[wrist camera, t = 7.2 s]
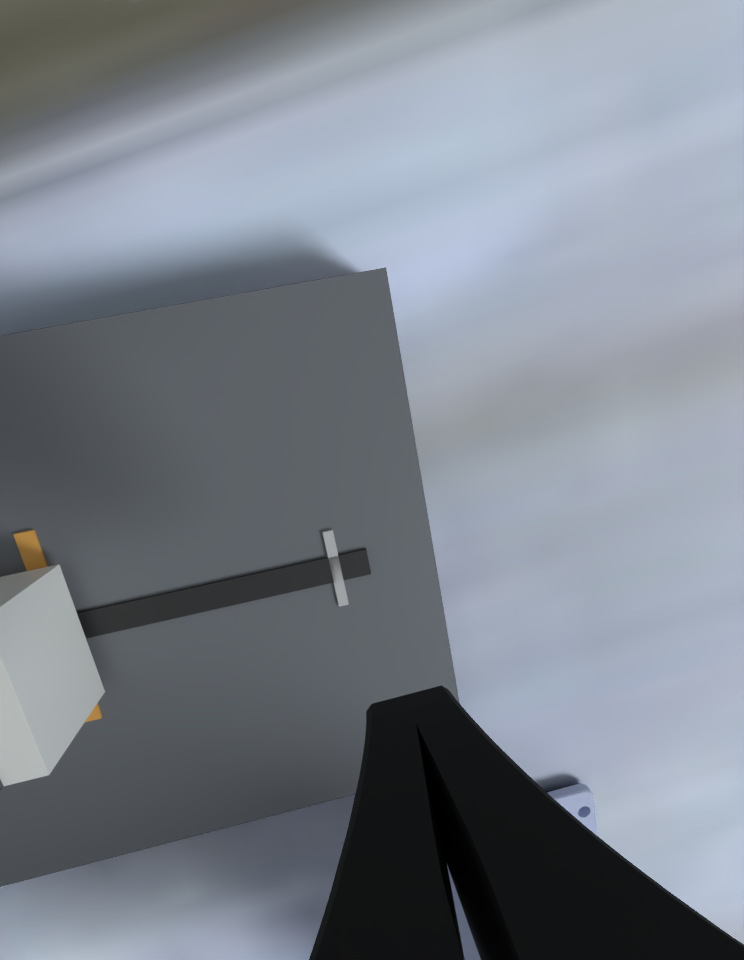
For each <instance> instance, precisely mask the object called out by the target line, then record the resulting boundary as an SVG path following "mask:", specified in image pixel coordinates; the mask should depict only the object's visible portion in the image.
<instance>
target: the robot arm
mask: <svg viewBox="0 0 744 960" xmlns="http://www.w3.org/2000/svg"><path fill="white" fill-rule="evenodd" d="M309 960H744V945H743V944H742V943H740V942H739V941H737V940H736V939H734V938H733V937H731V936H730V935H729V934H727V933H726V932H724V931H723V930H721V929H720V928H719V927H717V926H716V925H714V924H713V923H712V922H710V921H709V920H707V919H706V918H705V917H703V916H702V915H701V914H699V913H698V912H696V911H695V910H694V909H692V908H691V907H689V906H688V905H687V904H685V903H684V902H683V901H681V900H680V899H678V898H677V897H676V896H674V895H673V894H671V893H670V892H669V891H667V890H666V889H665V888H663V887H662V886H661V885H659V884H658V883H657V882H655V881H654V880H653V879H651V878H650V877H649V876H648V875H646V874H645V873H644V872H642V871H641V870H640V869H638V868H637V867H636V866H634V865H633V864H632V863H630V862H629V861H628V860H627V859H625V858H624V857H623V856H621V855H620V854H619V853H618V852H616V851H615V850H614V849H613V848H611V847H610V846H609V845H608V844H606V843H605V842H604V841H603V840H602V839H600V838H599V837H598V829H597V819H596V810H595V800H594V795H593V793H592V792H591V790H590V789H589V787H588V786H586V785H584V784H576V785H572V786H569V787H565V788H561V789H557V790H554V791H550V792H546V791H545V790H543V789H542V788H541V787H540V786H539V785H538V784H537V783H536V782H535V781H534V780H533V779H532V778H531V777H529V776H528V775H527V774H526V773H525V772H524V771H523V770H522V769H521V768H520V767H519V766H518V765H517V764H516V763H515V762H514V761H513V760H512V759H511V758H510V757H509V756H508V755H507V754H506V753H505V752H504V751H503V750H502V749H501V748H500V747H499V746H498V745H497V744H496V743H495V742H494V741H493V740H492V739H491V738H490V737H489V736H488V735H487V734H486V733H485V732H484V731H483V730H482V729H481V727H480V726H479V725H478V724H477V723H476V722H475V721H474V720H473V719H472V718H471V716H470V715H469V714H468V713H467V712H466V711H465V710H464V708H463V707H462V706H461V705H460V704H459V702H458V701H457V700H456V699H455V697H454V696H453V695H452V693H451V692H450V691H449V690H448V689H447V688H445V687H443V686H442V685H441V686H437V687H433V688H430V689H426V690H422V691H418V692H414V693H411V694H407V695H403V696H399V697H396V698H392V699H388V700H384V701H381V702H377V703H373V704H371V705H370V707H369V708H368V710H367V711H366V734H365V743H364V751H363V757H362V763H361V770H360V775H359V780H358V785H357V790H356V794H355V799H354V804H353V809H352V813H351V818H350V822H349V827H348V831H347V835H346V838H345V842H344V846H343V849H342V853H341V857H340V860H339V864H338V868H337V871H336V875H335V879H334V882H333V886H332V890H331V893H330V896H329V900H328V903H327V906H326V909H325V913H324V916H323V919H322V922H321V925H320V929H319V932H318V935H317V938H316V941H315V944H314V947H313V950H312V953H311V956H310V959H309Z"/></svg>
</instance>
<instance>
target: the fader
mask: <svg viewBox="0 0 744 960" xmlns="http://www.w3.org/2000/svg"><path fill="white" fill-rule="evenodd" d="M104 693H105V690H104V687H103V685H102V682H101V679H100V676H99V673H98V671H97V668H96V665H95V662H94V659H93V657H92V654H91V651H90V648H89V646H88V643H87V640H86V637H85V634H84V632H83V629H82V626H81V623H80V620H79V618H78V615H77V612H76V609H75V607H74V604H73V601H72V598H71V595H70V593H69V590H68V587H67V584H66V581H65V579H64V576H63V573H62V570H61V567H60V565H59V564H58V565H53V566H49V567H44V568H39V569H35V570H30V571H25V572H21V573H16V574H11V575H7V576H2V577H0V790H1V789H2V788H3V786H7V785H11V784H15V783H19V782H23V781H27V780H32V779H36V778H40V777H44V776H48V775H50V773H51V772H52V770H53V769H54V767H55V766H56V764H57V763H58V761H59V760H60V758H61V757H62V755H63V754H64V752H65V751H66V749H67V748H68V746H69V745H70V743H71V742H72V740H73V739H74V737H75V736H76V734H77V733H78V731H79V730H80V728H81V727H82V725H83V724H84V722H85V721H86V719H87V718H88V716H89V715H90V713H91V712H92V710H93V709H94V707H95V706H96V704H97V703H98V701H99V700H100V699H101V697H102V696H103V694H104Z"/></svg>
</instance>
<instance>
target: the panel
mask: <svg viewBox="0 0 744 960" xmlns="http://www.w3.org/2000/svg"><path fill="white" fill-rule="evenodd" d="M58 564H59V565H60V567H61V570H62V573H63V576H64V579H65V581H66V584H67V587H68V590H69V593H70V595H71V598H72V601H73V604H74V607H75V609H76V612H77V615H78V618H79V620H80V623H81V626H82V629H83V632H84V634H85V637H86V640H87V643H88V646H89V648H90V651H91V654H92V657H93V659H94V662H95V665H96V668H97V671H98V673H99V676H100V679H101V682H102V685H103V687H104V690H105V693H104V694H103V696H102V697H101V699H100V700H99V701H98V703H97V704H96V706H95V707H94V709H93V710H92V712H91V713H90V715H89V716H88V718H87V719H86V721H85V722H84V724H83V725H82V727H81V728H80V730H79V731H78V733H77V734H76V736H75V737H74V739H73V740H72V742H71V743H70V745H69V746H68V748H67V749H66V751H65V752H64V754H63V755H62V757H61V758H60V760H59V761H58V763H57V764H56V766H55V767H54V769H53V770H52V772H51V773H50V775H48V776H44V777H40V778H36V779H32V780H27V781H23V782H19V783H15V784H11V785H7V786H3V788H2V789H1V790H0V887H1V886H5V885H8V884H12V883H16V882H20V881H24V880H28V879H31V878H35V877H39V876H43V875H47V874H51V873H54V872H58V871H62V870H66V869H70V868H74V867H77V866H81V865H85V864H89V863H93V862H96V861H100V860H104V859H108V858H112V857H116V856H119V855H123V854H127V853H131V852H135V851H139V850H142V849H146V848H150V847H154V846H158V845H162V844H165V843H169V842H173V841H177V840H181V839H185V838H188V837H192V836H196V835H200V834H204V833H208V832H211V831H215V830H219V829H223V828H227V827H231V826H234V825H238V824H242V823H246V822H250V821H254V820H257V819H261V818H265V817H269V816H273V815H277V814H280V813H284V812H288V811H292V810H296V809H299V808H303V807H307V806H311V805H315V804H319V803H322V802H326V801H330V800H334V799H338V798H342V797H345V796H349V795H353V794H356V790H357V785H358V780H359V775H360V770H361V763H362V757H363V751H364V743H365V734H366V711H367V710H368V708H369V707H370V705H371V704H373V703H377V702H381V701H384V700H388V699H392V698H396V697H399V696H403V695H407V694H411V693H414V692H418V691H422V690H426V689H430V688H433V687H437V686H441V685H442V686H443V687H445V688H447V689H448V690H449V691H450V692H451V693H452V695H453V696H454V697H455V699H456V700H457V701H458V702H459V698H458V692H457V686H456V680H455V674H454V668H453V663H452V657H451V651H450V645H449V639H448V633H447V627H446V621H445V615H444V609H443V603H442V597H441V591H440V585H439V580H438V574H437V568H436V562H435V556H434V550H433V544H432V538H431V532H430V526H429V520H428V514H427V508H426V502H425V497H424V491H423V485H422V479H421V473H420V467H419V461H418V455H417V449H416V443H415V437H414V431H413V425H412V419H411V414H410V408H409V402H408V396H407V390H406V384H405V378H404V372H403V366H402V360H401V354H400V348H399V342H398V336H397V331H396V325H395V319H394V313H393V307H392V301H391V295H390V289H389V283H388V277H387V271H386V268H381V269H376V270H370V271H364V272H359V273H353V274H347V275H342V276H336V277H330V278H325V279H319V280H313V281H308V282H302V283H296V284H291V285H285V286H279V287H274V288H268V289H262V290H257V291H251V292H245V293H240V294H234V295H228V296H223V297H217V298H211V299H206V300H200V301H194V302H189V303H183V304H178V305H172V306H166V307H161V308H155V309H149V310H144V311H138V312H132V313H127V314H121V315H115V316H110V317H104V318H98V319H93V320H87V321H81V322H76V323H70V324H64V325H59V326H53V327H47V328H42V329H36V330H30V331H25V332H19V333H13V334H8V335H2V336H0V577H2V576H7V575H11V574H16V573H21V572H25V571H30V570H35V569H39V568H44V567H49V566H53V565H58Z"/></svg>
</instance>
